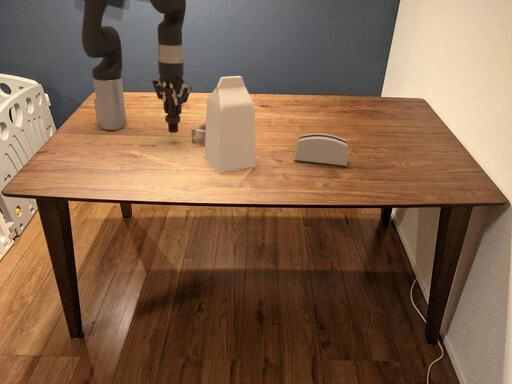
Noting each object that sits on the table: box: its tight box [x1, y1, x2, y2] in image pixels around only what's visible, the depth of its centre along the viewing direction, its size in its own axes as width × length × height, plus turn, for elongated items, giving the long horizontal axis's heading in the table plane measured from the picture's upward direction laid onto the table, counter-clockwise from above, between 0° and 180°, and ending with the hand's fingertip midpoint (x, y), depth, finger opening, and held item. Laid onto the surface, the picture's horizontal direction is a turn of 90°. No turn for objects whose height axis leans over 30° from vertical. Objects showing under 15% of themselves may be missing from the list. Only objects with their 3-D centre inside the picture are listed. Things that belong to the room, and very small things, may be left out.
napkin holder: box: [293, 132, 349, 167], centre depth 125 cm, size 17×5×10 cm, turn 81°
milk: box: [204, 75, 256, 174], centre depth 118 cm, size 12×12×26 cm
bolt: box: [162, 86, 181, 134], centre depth 130 cm, size 6×5×15 cm
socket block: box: [191, 121, 206, 147], centre depth 137 cm, size 10×12×5 cm
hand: (172, 113), depth 131 cm, fingers closed on bolt, 3 cm apart
